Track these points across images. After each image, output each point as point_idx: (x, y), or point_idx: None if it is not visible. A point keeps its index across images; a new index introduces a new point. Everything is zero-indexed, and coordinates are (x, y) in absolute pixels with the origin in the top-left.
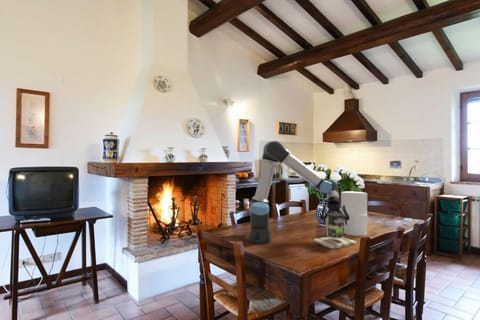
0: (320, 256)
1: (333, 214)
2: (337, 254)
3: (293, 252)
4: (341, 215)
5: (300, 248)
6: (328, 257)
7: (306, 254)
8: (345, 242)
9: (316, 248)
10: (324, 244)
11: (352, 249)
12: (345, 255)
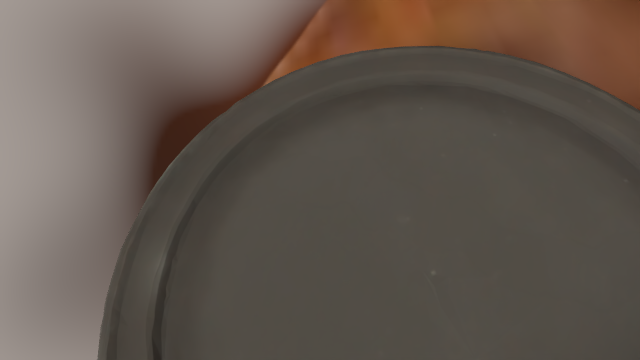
0: (424, 9)
1: (484, 207)
2: None
3: (613, 3)
4: (215, 121)
5: (619, 86)
6: (374, 13)
7: (518, 5)
8: None
9: None
10: None
11: None
12: (270, 80)
